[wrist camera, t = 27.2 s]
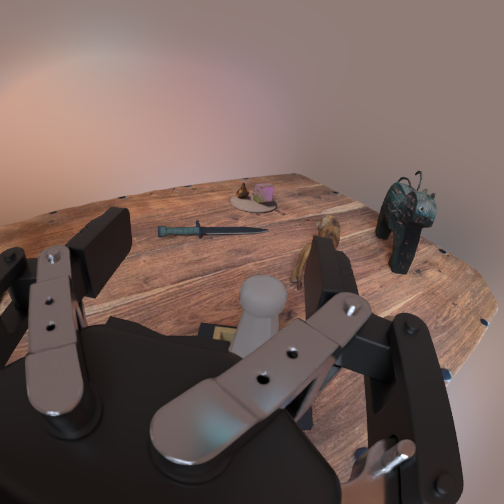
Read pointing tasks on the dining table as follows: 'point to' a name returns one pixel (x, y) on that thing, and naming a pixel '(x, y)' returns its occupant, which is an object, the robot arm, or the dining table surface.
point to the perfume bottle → (255, 199)
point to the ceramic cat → (405, 221)
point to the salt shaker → (258, 313)
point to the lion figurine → (326, 229)
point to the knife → (207, 230)
